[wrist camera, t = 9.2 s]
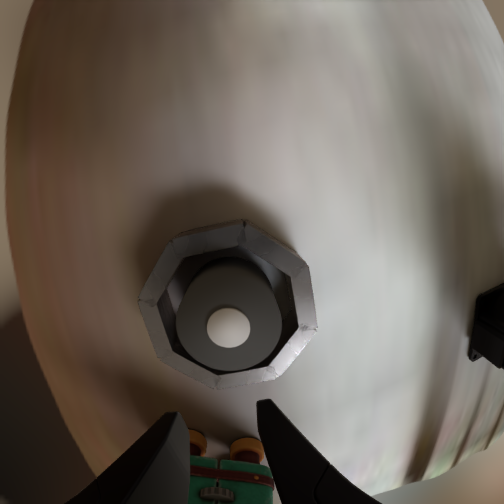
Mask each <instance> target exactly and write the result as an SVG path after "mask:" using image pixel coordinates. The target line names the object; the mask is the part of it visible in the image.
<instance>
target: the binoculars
mask: <svg viewBox="0 0 504 504" xmlns="http://www.w3.org/2000/svg"><path fill="white" fill-rule="evenodd" d="M188 430H189V429H188ZM189 435H190V484H189V493H188V503H187V504H273V490H274V479H272V473H271V470H270V468H269V467H267V466H264V465H260V462H261V461H262V460H263V458H264V449H263V446H262V443H261V442H260V441H259V440H257V439H254V438H242V439H239V440H236V441H235V442H233V443H232V445H231V446H230V460H220V467H219V469H217V468H218V460H217V459H215V458H208V457H203V456H204V455H205V453H206V447H207V441H206V439H205V437H204V436H203V435H202V434H201V433H199V432H197V431H194V430H189Z"/></svg>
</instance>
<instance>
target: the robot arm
mask: <svg viewBox="0 0 504 504" xmlns="http://www.w3.org/2000/svg"><path fill="white" fill-rule="evenodd" d="M482 356H483V357H485V358H486V359H487V360H488V361H490V362H491V363H492V364H494V365H495V366H496V367H497V368H499V369H500V368H502V369H504V283H503V284H501V285H499V286H497V287H495V288H493V289H491V290H489V291H487V292H485V293H483V294H480V295H479V296H478V298H477V301H476V310H475V319H474V327H473V335H472V341H471V348H470V353H469V360H471V361H472V362H473V361H476V360H477V359H479V358H481V357H482ZM256 406H257V426H258V432H259V436H260V439H261V442H262V446H263V449H264V452H265V455H266V458H267V461H268V464H269V467H270V470H271V473H272V476H273V479H274V482H275V485H276V488H277V491H278V494H279V497H280V500H281V503H282V504H382V503H380V502H378V501H377V500H375V499H374V498H372V497H371V496H369V495H367V494H366V493H365V492H363V491H362V490H360V489H359V488H358V487H356V486H355V485H354V484H352V483H351V482H350V481H349V480H348V479H347V478H345V477H344V476H343V475H342V474H341V473H340V472H339V471H338V470H337V469H336V468H335V467H334V466H333V465H330V462H329V461H328V460H327V459H326V458H325V457H324V456H323V455H322V454H321V453H320V452H319V451H318V450H317V449H316V448H315V447H314V446H313V445H312V444H311V443H310V442H309V441H308V440H307V439H306V437H305V436H304V435H303V434H302V433H301V432H300V431H299V430H298V429H297V428H296V427H295V426H294V424H293V423H292V422H291V421H290V420H289V419H288V418H287V417H286V416H285V414H284V413H283V412H282V411H281V410H280V409H279V408H278V407H277V405H276V404H275V403H274V402H273V401H272V400H271V399H264V400H259V401H257V403H256ZM189 484H190V435H189V430H188V428H187V426H186V424H185V422H184V420H183V418H182V416H181V414H180V413H179V412H177V411H176V412H166V413H165V414H164V415H163V416H162V417H161V418H160V419H159V420H157V421H156V422H155V423H154V424H153V425H152V426H151V427H150V428H149V429H148V430H147V431H146V432H145V433H144V434H143V435H142V436H141V437H140V438H139V439H138V440H137V441H136V442H135V443H134V444H133V445H132V446H131V447H130V448H128V449H127V450H126V451H125V452H124V453H123V454H122V455H121V456H120V457H119V458H118V459H117V460H116V461H114V462H113V463H112V464H111V465H110V466H109V467H108V468H107V469H106V470H105V471H104V472H102V473H101V474H100V475H99V476H98V477H97V479H95V480H94V481H92V482H91V483H90V484H89V485H88V486H87V487H86V488H84V489H83V490H82V491H80V492H79V493H78V494H77V495H76V496H74V497H73V498H71V499H70V500H69V501H67V502H66V503H64V504H187V503H188V493H189Z"/></svg>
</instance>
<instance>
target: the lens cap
mask: <svg viewBox="0 0 504 504" xmlns="http://www.w3.org/2000/svg"><path fill="white" fill-rule="evenodd" d="M176 329H177V333H178V337H179V339H180V342H181V343H182V345H183V347H184V348H185V350H186V351H187V352H188V353H189V354H190V355H191V356H192V357H193V358H194V359H196V360H197V361H198V362H200V363H202V364H204V365H206V366H208V367H211V368H214V369H218V370H225V371H235V370H242V369H246V368H249V367H252V366H254V365H256V364H258V363H260V362H261V361H263V360H264V359H265V358H266V357H267V356H269V354H270V353H271V352H272V351H273V350H274V348H275V347H276V345H277V343H278V341H279V338H280V335H281V330H282V319H281V314H280V310H279V307H278V305H277V302H276V299H275V296H274V293H273V290H272V288H271V285H270V282H269V280H268V278H267V277H266V275H265V274H264V272H263V271H262V270H261V269H260V268H259V267H257V266H256V265H255V264H253V263H251V262H249V261H247V260H245V259H241V258H236V257H224V258H219V259H215V260H213V261H210V262H209V263H207V264H205V265H204V266H203V267H201V268H200V269H199V270H198V272H197V273H196V274H195V276H194V277H193V279H192V281H191V283H190V285H189V287H188V289H187V291H186V293H185V295H184V297H183V299H182V301H181V303H180V305H179V308H178V311H177V316H176Z"/></svg>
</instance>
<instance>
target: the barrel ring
mask: <svg viewBox="0 0 504 504" xmlns="http://www.w3.org/2000/svg"><path fill="white" fill-rule="evenodd" d="M239 245H242V246H243V247H245V248H247V249H248V250H250V251H251V252H253V253H254V254H256V255H258V256H259V257H261V258H262V259H264V260H265V261H267V262H269V263H270V264H272V265H273V266H275V267H276V268H278V269H280V270H281V271H283V272H284V273H285V278H286V283H287V289H288V294H289V300H290V306H291V311H290V312H289V313H288V315H287V316H286V317H285V319H284V320H283V321H282V330H281V335H280V338H279V341H278V343H277V345H276V347H275V348H274V350H273V351H272V352H271V353H270V354H269V356H267V357H266V358H265V359H264V360H263V361H261V362H260V363H258V364H256V365H254V366H252V367H249V368H246V369H242V370H235V371H225V370H218V369H214V368H211V367H208V366H206V365H204V364H202V363H200V362H198V361H197V360H196V359H194V358H193V357H192V356H191V355H190V354H189V353H188V352H187V351H186V350H185V348H184V347H183V345H182V343H181V342H180V339H179V337H178V333H177V329H176V317H175V314H174V311H173V308H172V304H171V301H170V298H169V294H168V291H167V287H168V286H169V284H170V282H171V280H172V279H173V277H174V275H175V274H176V272H177V270H178V269H179V267H180V265H181V264H182V262H183V260H184V259H185V257H188V256H193V255H197V254H202V253H207V252H211V251H216V250H220V249H225V248H230V247H235V246H239ZM138 298H139V300H138V304H139V307H140V310H141V313H142V316H143V319H144V322H145V325H146V328H147V330H148V333H149V336H150V339H151V341H152V344H153V347H154V349H155V352H156V354H157V357H158V358H161V357H162V358H161V360H160V361H162V362H164V363H165V364H167V365H169V366H171V367H172V368H174V369H176V370H178V371H180V372H182V373H183V374H185V375H187V376H189V377H191V378H193V379H195V380H197V381H199V382H201V383H203V384H204V385H206V386H208V387H210V388H213V389H214V388H215V387H216V388H217V389H224V388H231V387H237V386H243V385H248V384H254V383H259V382H264V381H269V380H274V379H276V376H278V377H280V376H281V375H282V374H283V372H284V371H285V370H286V369H287V368H288V367H289V365H290V364H291V363H292V362H293V360H294V359H295V358H296V357H297V356H298V354H299V353H300V352H301V351H302V349H303V348H304V347H305V346H306V344H307V343H308V342H309V341H310V339H311V338H312V337H313V336H314V334H315V333H316V332H317V331H316V329H315V328H318V326H317V318H316V311H315V304H314V297H313V290H312V284H311V277H310V271H309V266H308V265H307V264H306V262H305V261H304V260H303V259H302V258H301V257H300V256H299V254H298V253H296V252H295V251H293V250H292V249H290V248H289V247H287V246H286V245H284V244H283V243H281V242H280V241H278V240H277V239H275V238H274V237H272V236H271V235H269V234H268V233H266V232H264V231H263V230H261V229H260V228H258V227H257V226H255V225H254V224H252V223H251V222H249V221H248V220H245V222H244V223H243V220H242V219H239V220H234V221H230V222H225V223H220V224H216V225H211V226H207V227H202V228H198V229H193V230H189V231H185V232H181V233H180V234H179V235H177V236H176V237H174V238H173V239H172V240H170V241H169V242H168V244H167V246H166V248H165V249H164V251H163V253H162V255H161V256H160V258H159V260H158V262H157V263H156V265H155V267H154V269H153V271H152V272H151V274H150V276H149V278H148V280H147V281H146V283H145V285H144V287H143V289H142V291H141V293H140V294H139V296H138Z"/></svg>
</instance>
